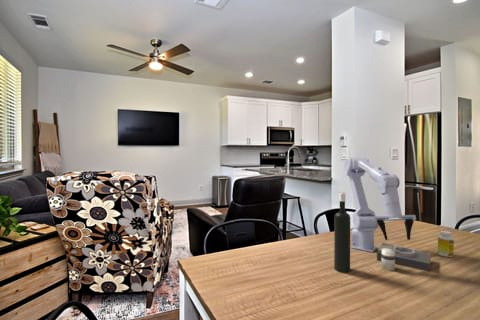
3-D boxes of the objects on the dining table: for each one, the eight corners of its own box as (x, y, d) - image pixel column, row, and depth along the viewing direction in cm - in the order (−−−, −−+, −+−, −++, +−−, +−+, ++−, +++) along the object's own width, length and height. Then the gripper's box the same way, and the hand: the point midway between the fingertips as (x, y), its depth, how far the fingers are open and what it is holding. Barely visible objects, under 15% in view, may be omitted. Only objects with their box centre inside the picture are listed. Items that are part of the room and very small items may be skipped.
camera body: (376, 259, 111) (377, 250, 110) (382, 251, 120) (382, 242, 120) (429, 271, 100) (429, 260, 99) (430, 261, 109) (430, 251, 109)
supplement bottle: (450, 258, 112) (451, 234, 111) (435, 254, 116) (435, 231, 116) (455, 255, 115) (456, 232, 114) (440, 251, 119) (440, 229, 119)
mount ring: (391, 254, 109) (391, 250, 109) (394, 248, 115) (394, 245, 115) (414, 258, 104) (414, 254, 104) (415, 252, 110) (415, 249, 110)
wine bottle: (349, 267, 104) (349, 191, 103) (350, 273, 98) (351, 193, 97) (334, 265, 105) (334, 191, 105) (334, 271, 100) (334, 193, 99)
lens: (380, 268, 102) (380, 250, 102) (382, 264, 106) (382, 247, 106) (394, 271, 99) (394, 253, 99) (396, 267, 103) (396, 249, 103)
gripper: (372, 204, 105) (377, 240, 101) (414, 202, 99) (421, 240, 96) (371, 205, 111) (376, 239, 108) (411, 203, 105) (417, 239, 102)
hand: (397, 239), depth 102 cm, fingers open, 7 cm apart
